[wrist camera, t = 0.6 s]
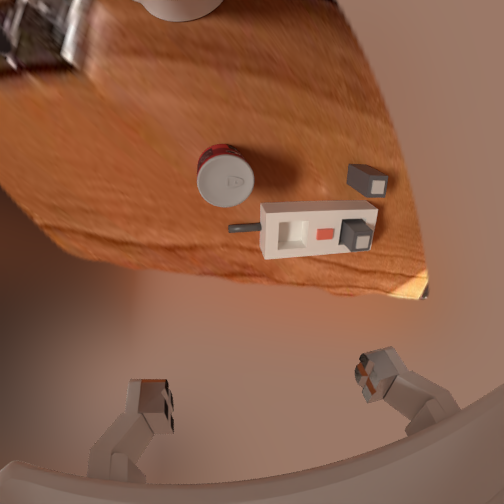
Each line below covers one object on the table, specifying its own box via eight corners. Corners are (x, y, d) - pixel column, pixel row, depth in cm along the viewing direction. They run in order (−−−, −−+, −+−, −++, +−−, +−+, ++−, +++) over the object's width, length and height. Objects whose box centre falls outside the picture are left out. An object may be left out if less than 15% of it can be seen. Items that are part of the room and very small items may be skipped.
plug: (348, 163, 53) (370, 175, 46) (366, 164, 54) (389, 176, 46) (346, 183, 55) (367, 198, 48) (363, 183, 55) (386, 198, 48)
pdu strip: (227, 204, 53) (233, 226, 45) (365, 200, 57) (390, 218, 49) (229, 248, 58) (234, 275, 50) (359, 239, 62) (380, 261, 54)
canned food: (248, 179, 52) (259, 200, 42) (204, 190, 51) (205, 214, 42) (238, 138, 48) (248, 148, 38) (192, 149, 47) (190, 163, 38)
